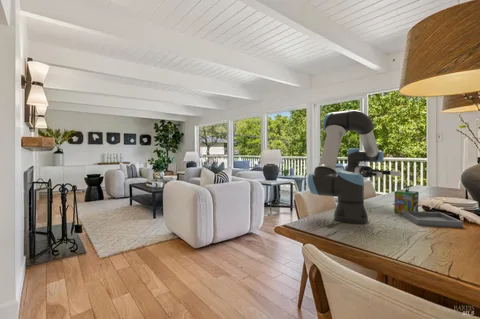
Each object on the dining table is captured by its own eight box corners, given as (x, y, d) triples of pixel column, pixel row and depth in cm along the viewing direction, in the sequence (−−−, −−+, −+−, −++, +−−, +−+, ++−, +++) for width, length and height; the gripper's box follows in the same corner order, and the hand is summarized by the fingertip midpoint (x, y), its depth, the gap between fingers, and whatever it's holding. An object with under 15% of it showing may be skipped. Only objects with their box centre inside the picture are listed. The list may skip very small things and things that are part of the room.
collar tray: (417, 225, 111) (417, 219, 111) (402, 215, 128) (402, 210, 128) (462, 227, 107) (462, 221, 107) (441, 217, 124) (441, 212, 124)
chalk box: (399, 209, 142) (399, 183, 141) (418, 212, 135) (419, 185, 134) (393, 212, 136) (393, 185, 135) (413, 215, 129) (413, 187, 128)
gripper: (378, 176, 168) (407, 179, 148) (347, 178, 162) (373, 181, 141) (378, 165, 168) (407, 167, 148) (347, 166, 161) (373, 168, 141)
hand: (391, 174), depth 144 cm, fingers open, 13 cm apart
